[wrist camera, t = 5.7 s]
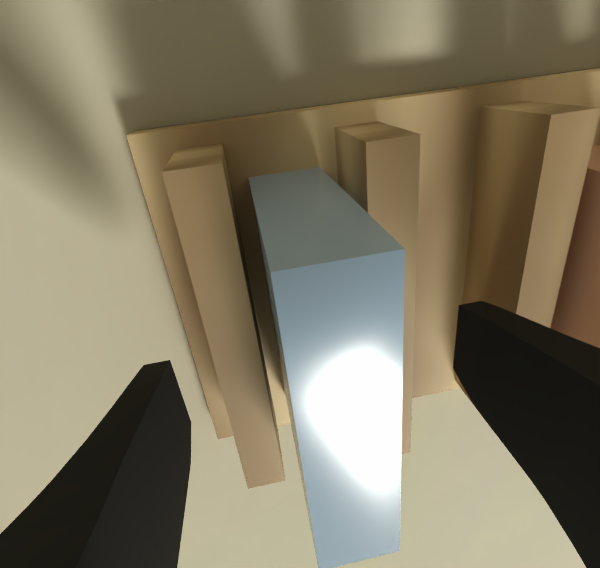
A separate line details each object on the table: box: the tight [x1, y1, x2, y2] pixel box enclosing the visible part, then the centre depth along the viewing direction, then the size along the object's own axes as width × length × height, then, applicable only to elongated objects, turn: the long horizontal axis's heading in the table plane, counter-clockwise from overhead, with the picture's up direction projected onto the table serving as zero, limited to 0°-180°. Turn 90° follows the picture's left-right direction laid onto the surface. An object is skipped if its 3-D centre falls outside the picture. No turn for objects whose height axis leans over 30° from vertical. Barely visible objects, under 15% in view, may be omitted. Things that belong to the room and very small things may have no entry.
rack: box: [126, 68, 600, 488], centre depth 12 cm, size 16×11×4 cm
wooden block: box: [550, 144, 600, 348], centre depth 12 cm, size 2×7×4 cm, turn 6°
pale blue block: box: [248, 167, 405, 568], centre depth 10 cm, size 2×8×6 cm, turn 7°
